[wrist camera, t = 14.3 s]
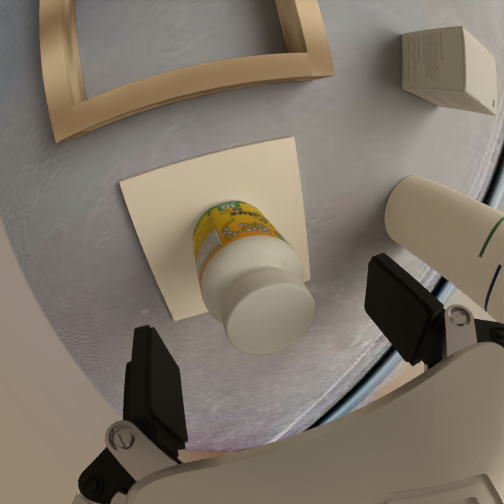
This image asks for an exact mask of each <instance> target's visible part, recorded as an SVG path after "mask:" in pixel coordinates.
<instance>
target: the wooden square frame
mask: <svg viewBox="0 0 504 504" xmlns="http://www.w3.org/2000/svg"><path fill="white" fill-rule="evenodd" d="M275 4H276V8H277V11H278V15H279V19H280V23H281V27H282V32H283V36H284V40H285V45H286V49H287V53H281V54H267V55H256V56H247V57H239V58H232V59H225V60H219V61H214V62H208V63H203V64H198V65H193V66H189V67H185V68H180V69H176V70H172V71H169V72H165V73H161V74H158V75H154V76H151V77H148V78H144V79H141V80H138V81H135V82H132V83H129V84H126V85H124V86H121V87H118V88H116V89H113V90H110V91H108V92H105V93H103V94H100V95H98V96H96V97H93V98H91V99H89V100H87V98H86V93H85V88H84V82H83V76H82V70H81V63H80V56H79V48H78V40H77V29H76V15H75V0H40V8H39V32H40V51H41V63H42V72H43V80H44V87H45V94H46V100H47V105H48V110H49V115H50V120H51V125H52V129H53V134H54V138H55V142H56V143H58V142H63V141H67V140H72V139H75V138H77V137H80V136H82V135H84V134H86V133H88V132H91V131H93V130H95V129H98V128H100V127H103V126H105V125H108V124H110V123H113V122H115V121H118V120H121V119H124V118H126V117H129V116H132V115H135V114H138V113H141V112H144V111H147V110H150V109H153V108H157V107H160V106H163V105H167V104H170V103H174V102H178V101H181V100H185V99H189V98H193V97H198V96H202V95H207V94H211V93H216V92H221V91H226V90H232V89H238V88H244V87H250V86H257V85H265V84H274V83H283V82H295V81H310V80H317V79H321V78H326V77H331V76H335V74H334V68H333V63H332V58H331V53H330V49H329V44H328V40H327V36H326V31H325V27H324V23H323V19H322V16H321V12H320V8H319V5H318V1H317V0H275Z"/></svg>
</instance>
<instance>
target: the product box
mask: <svg viewBox="0 0 504 504" xmlns="http://www.w3.org/2000/svg"><path fill="white" fill-rule="evenodd" d="M402 89H403V90H405V91H407V92H410V93H412V94H414V95H416V96H418V97H421V98H423V99H425V100H427V101H429V102H431V103H433V104H435V105H437V106H440V107H446V108H453V109H460V110H466V111H472V112H478V113H483V114H488V115H493V116H496V109H497V87H496V67H495V59H494V57H493V56H492V55H491V54H490V53H489V52H488V51H487V50H486V49H485V48H484V47H483V46H482V45H481V44H480V43H479V42H478V41H477V40H476V39H475V38H474V37H473V36H472V35H471V34H470V33H469V32H468V31H467V30H466V29H465V28H464V27H463V26H458V27H447V28H438V29H430V30H422V31H416V32H410V33H404V34H403V35H402Z"/></svg>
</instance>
